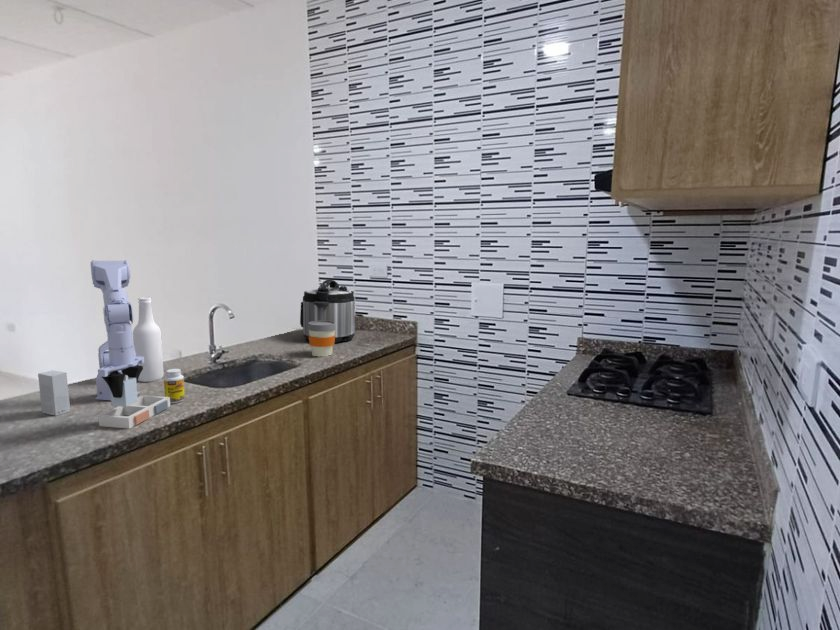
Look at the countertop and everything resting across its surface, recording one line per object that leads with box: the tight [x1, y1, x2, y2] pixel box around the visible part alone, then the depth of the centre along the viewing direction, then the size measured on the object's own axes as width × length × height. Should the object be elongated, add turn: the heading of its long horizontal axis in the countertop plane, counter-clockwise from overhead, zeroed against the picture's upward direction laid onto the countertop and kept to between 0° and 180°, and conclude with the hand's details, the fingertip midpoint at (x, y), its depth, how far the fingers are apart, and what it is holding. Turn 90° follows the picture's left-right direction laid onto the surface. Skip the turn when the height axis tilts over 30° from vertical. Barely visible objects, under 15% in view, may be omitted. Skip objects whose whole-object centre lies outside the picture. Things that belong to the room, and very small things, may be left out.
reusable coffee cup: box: [308, 321, 336, 357], centre depth 206 cm, size 13×13×15 cm
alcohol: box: [132, 296, 165, 383], centre depth 162 cm, size 9×9×30 cm
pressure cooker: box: [299, 279, 356, 343], centre depth 238 cm, size 30×28×32 cm
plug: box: [110, 375, 139, 407], centre depth 126 cm, size 4×4×8 cm
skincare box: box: [37, 370, 71, 417], centre depth 131 cm, size 6×4×12 cm
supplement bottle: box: [163, 368, 186, 405], centre depth 143 cm, size 6×6×10 cm
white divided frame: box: [97, 394, 171, 429], centre depth 131 cm, size 10×17×3 cm, turn 174°
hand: (124, 394), depth 126 cm, fingers closed on plug, 4 cm apart
